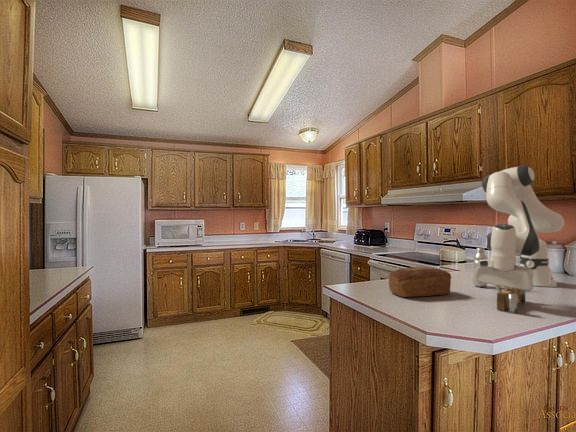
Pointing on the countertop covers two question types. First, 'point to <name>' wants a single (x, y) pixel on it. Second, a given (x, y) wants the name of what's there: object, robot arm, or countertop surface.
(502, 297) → the gate
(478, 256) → the plastic bottle
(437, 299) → the countertop surface
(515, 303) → the stop post
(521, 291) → the pivot post
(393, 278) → the bread
